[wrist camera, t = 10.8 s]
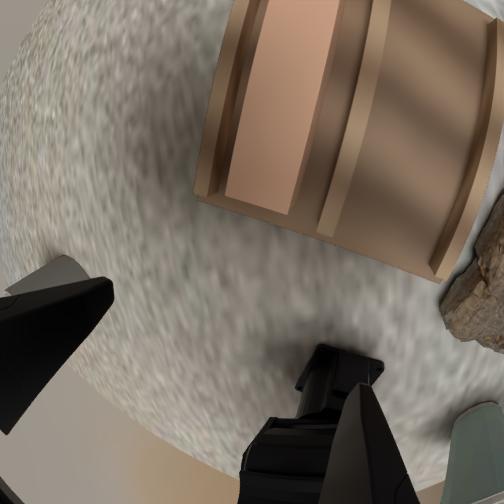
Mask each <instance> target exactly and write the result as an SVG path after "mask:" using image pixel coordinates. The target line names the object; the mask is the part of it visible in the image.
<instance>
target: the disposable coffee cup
mask: <svg viewBox="0 0 504 504" xmlns="http://www.w3.org/2000/svg"><path fill="white" fill-rule="evenodd" d="M440 504H504V414H503V412H502V410H501V408H500V407H498V405H497V404H496V403H494V402H485V403H480V404H478V405H476V406H474V407H471V408H469V409H468V410H466V411H465V412H464V413H462V414H461V415H460V416H458V418H457V419H456V421H455V422H454V425H453V428H452V432H451V444H450V453H449V460H448V467H447V473H446V479H445V484H444V489H443V494H442V498H441V503H440Z"/></svg>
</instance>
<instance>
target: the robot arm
mask: <svg viewBox="0 0 504 504" xmlns="http://www.w3.org/2000/svg"><path fill="white" fill-rule="evenodd" d="M113 302H114V289H113V282H112V281H111V280H110V279H108V278H106V277H103V276H102V277H97V278H92V279H88V280H83V281H78V282H73V283H69V284H64V285H59V286H54V287H50V288H45V289H40V290H35V291H31V292H26V293H22V294H17V295H12V296H7V297H2V298H0V430H1V431H2V432H3V433H4V434H5V435H8V434H9V433H10V431H11V430H12V428H13V427H14V426H15V424H16V423H17V422H18V420H19V419H20V418H21V416H22V415H23V414H24V412H25V411H26V410H27V408H28V407H29V406H30V405H31V403H32V402H33V401H34V399H35V398H36V397H37V395H38V394H39V393H40V392H41V390H42V389H43V388H44V387H45V386H46V384H47V383H48V382H49V381H50V379H51V378H52V377H53V376H54V375H55V373H56V372H57V371H58V370H59V369H60V368H61V366H62V365H63V364H64V363H65V362H66V361H67V359H68V358H69V357H70V356H71V355H72V354H73V352H74V351H75V350H76V349H77V348H78V347H79V346H80V344H81V343H82V342H83V341H84V340H85V339H86V338H87V337H88V336H89V334H90V333H91V332H92V331H93V329H94V328H95V327H96V325H97V324H98V323H99V321H100V320H101V319H102V317H103V316H104V315H105V313H106V312H107V311H108V309H109V308H110V307H111V305H112V304H113ZM320 349H322V350H323V351H322V350H320ZM378 367H381V368H378ZM383 371H384V363H382V362H379V361H375V360H372V359H369V358H365V357H362V356H359V355H355V354H352V353H349V352H346V351H343V350H340V349H337V348H334V347H330V346H327V345H324V344H319V345H317V346H316V348H315V350H314V352H313V354H312V356H311V358H310V360H309V361H308V363H307V365H306V367H305V369H304V370H303V372H302V374H301V376H300V378H299V379H298V381H297V383H296V386H295V389H296V390H297V391H300V392H303V393H302V397H301V400H300V404H299V407H298V411H297V414H296V418H295V419H289V418H277V417H270V418H269V420H268V421H267V422H266V424H265V425H264V426H263V428H262V429H261V430H260V432H259V433H258V434H257V436H256V437H255V438H254V440H253V441H252V442H251V443H250V445H249V446H248V447H247V449H246V451H245V452H244V453H243V459H242V463H241V470H240V472H239V477H240V493H239V499H238V503H237V504H420V502H419V500H418V498H417V496H416V493H415V490H414V488H413V485H412V483H411V480H410V477H409V475H408V474H407V470H406V467H405V465H404V462H403V460H402V457H401V455H400V452H399V450H398V447H397V445H396V442H395V440H394V437H393V435H392V432H391V430H390V428H389V425H388V423H387V421H386V418H385V416H384V414H383V411H382V409H381V407H380V404H379V402H378V400H377V398H376V395H375V393H374V391H373V389H372V387H371V386H372V385H373V384H374V382H375V381H376V380H377V379H378V377H379V376H380V375H381V374H382V372H383ZM0 504H24V503H23V502H22V501H21V499H20V498H19V497H18V496H17V495H16V494H15V493H14V492H13V491H12V490H11V489H10V488H9V486H8V485H7V484H6V483H5V482H4V480H3V479H2V478H1V477H0Z"/></svg>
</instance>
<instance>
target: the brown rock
mask: <svg viewBox="0 0 504 504" xmlns="http://www.w3.org/2000/svg"><path fill="white" fill-rule="evenodd" d="M474 248H475V249H476V254H477V255H478V256H477V257H476V258H475V259H474V260H473V262H472V264H471V265H470V266H469V267H468V269H467V270H466V272H465V273H463V274H462V275H460V276H458V277H457V279H456V280H455V281H454V283H453V284H452V286H451V288H450V290H449V292H448V294H447V295H446V297H445V298H444V300H443V302H442V303H441V305H440V312H441V314H442V317H443V321H444V324H445V327H446V330H447V329H449V331H450V332H451V334H452V335H453V336H454V337H455V338H457V339H460V340H461V342H466V341H471V340H476V341H477V342H478V343H480V344H481V345H482V346H483V347H487V348H491V349H493V350H494V351H495V352H499V353H502V354H504V194H503V195H501V197H500V199H499V200H498V202H497V204H496V205H495V207H494V209H493V211H492V213H491V215H490V217H489V219H488V222H487V223H486V225H485V226H484V227H483V229H482V230H481V233H480V236H479V238H478V240H477V242H476V244H475V245H474Z"/></svg>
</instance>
